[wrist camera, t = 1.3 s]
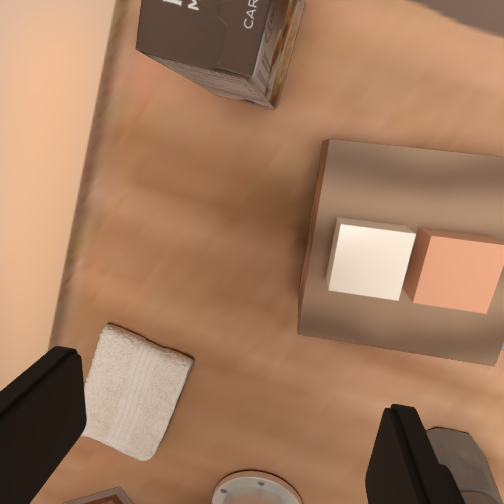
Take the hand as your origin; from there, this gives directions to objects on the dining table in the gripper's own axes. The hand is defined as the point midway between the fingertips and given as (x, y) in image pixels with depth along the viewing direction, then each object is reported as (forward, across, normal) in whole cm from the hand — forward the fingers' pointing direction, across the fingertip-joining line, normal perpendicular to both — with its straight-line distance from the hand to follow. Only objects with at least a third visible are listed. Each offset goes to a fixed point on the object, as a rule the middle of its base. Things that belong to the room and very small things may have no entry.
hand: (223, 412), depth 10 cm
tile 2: (+18, -7, 0) cm, 19 cm away
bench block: (+26, -11, 0) cm, 28 cm away
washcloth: (+26, +16, +25) cm, 39 cm away
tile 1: (+18, -13, 0) cm, 22 cm away
